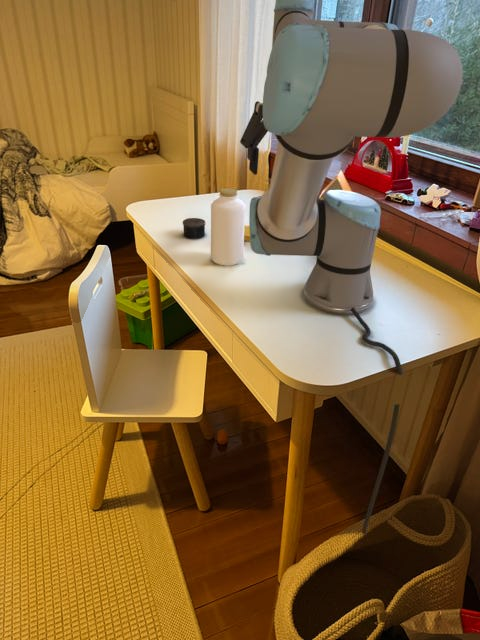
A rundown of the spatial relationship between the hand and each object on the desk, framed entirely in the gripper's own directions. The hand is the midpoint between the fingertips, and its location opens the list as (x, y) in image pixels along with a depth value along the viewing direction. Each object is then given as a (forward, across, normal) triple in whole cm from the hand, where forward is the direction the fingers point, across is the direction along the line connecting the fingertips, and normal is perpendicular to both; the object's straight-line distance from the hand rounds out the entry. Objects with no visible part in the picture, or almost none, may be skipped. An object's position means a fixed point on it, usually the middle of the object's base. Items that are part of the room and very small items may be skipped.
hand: (277, 166), depth 118 cm
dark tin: (+24, +18, -11) cm, 32 cm away
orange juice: (+15, -14, +9) cm, 22 cm away
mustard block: (+24, +3, -4) cm, 24 cm away
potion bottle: (+19, +17, +7) cm, 27 cm away
